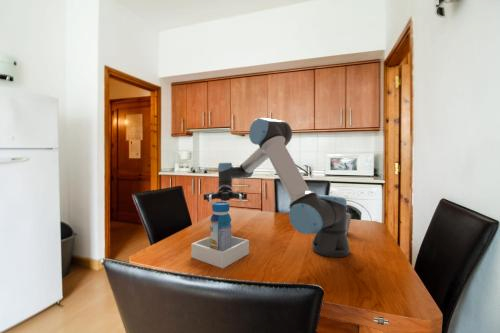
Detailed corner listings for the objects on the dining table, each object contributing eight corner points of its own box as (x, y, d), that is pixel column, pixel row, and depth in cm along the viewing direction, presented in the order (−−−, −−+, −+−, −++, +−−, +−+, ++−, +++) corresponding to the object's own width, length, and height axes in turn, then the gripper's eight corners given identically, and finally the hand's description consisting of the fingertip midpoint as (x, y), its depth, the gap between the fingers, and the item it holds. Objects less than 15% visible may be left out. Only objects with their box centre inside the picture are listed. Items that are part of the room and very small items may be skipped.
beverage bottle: (228, 257, 94) (228, 205, 93) (207, 256, 95) (206, 204, 94) (233, 249, 102) (233, 201, 101) (213, 248, 103) (213, 200, 102)
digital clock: (317, 228, 136) (318, 209, 135) (330, 226, 140) (330, 207, 139) (341, 237, 121) (341, 215, 121) (354, 234, 126) (354, 213, 125)
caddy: (248, 253, 100) (248, 240, 100) (222, 268, 87) (222, 253, 87) (219, 245, 110) (219, 232, 109) (191, 257, 96) (191, 243, 96)
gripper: (249, 199, 131) (253, 207, 110) (201, 200, 129) (196, 208, 108) (248, 185, 131) (253, 190, 110) (201, 185, 129) (196, 191, 107)
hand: (225, 199), depth 109 cm, fingers open, 13 cm apart
